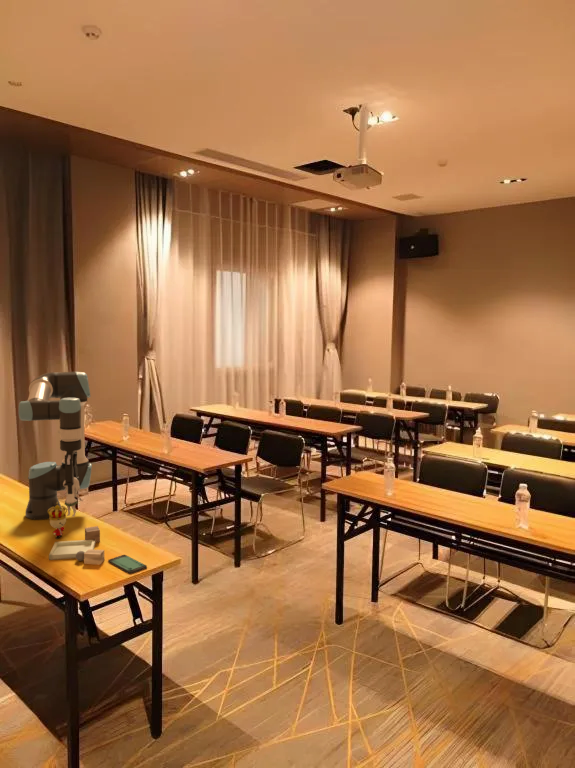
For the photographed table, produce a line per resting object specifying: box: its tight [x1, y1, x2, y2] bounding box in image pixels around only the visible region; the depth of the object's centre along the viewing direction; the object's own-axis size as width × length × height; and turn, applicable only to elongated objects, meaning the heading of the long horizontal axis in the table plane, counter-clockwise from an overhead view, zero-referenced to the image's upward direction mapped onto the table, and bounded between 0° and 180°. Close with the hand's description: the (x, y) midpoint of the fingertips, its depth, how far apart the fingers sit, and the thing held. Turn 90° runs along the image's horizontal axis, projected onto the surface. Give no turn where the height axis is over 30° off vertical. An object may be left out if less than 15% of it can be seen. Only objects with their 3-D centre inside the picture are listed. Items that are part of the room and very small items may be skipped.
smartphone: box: [107, 554, 148, 575], centre depth 208 cm, size 7×1×15 cm
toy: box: [48, 501, 68, 539], centre depth 232 cm, size 7×7×15 cm
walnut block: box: [84, 525, 101, 544], centre depth 230 cm, size 5×5×5 cm
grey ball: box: [75, 551, 85, 562], centre depth 211 cm, size 4×4×4 cm
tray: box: [48, 539, 96, 561], centre depth 219 cm, size 13×15×2 cm
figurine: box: [60, 477, 84, 517], centre depth 217 cm, size 10×6×15 cm, turn 70°
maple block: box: [83, 548, 106, 566], centre depth 210 cm, size 4×6×4 cm, turn 86°
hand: (71, 498), depth 217 cm, fingers closed on figurine, 6 cm apart
